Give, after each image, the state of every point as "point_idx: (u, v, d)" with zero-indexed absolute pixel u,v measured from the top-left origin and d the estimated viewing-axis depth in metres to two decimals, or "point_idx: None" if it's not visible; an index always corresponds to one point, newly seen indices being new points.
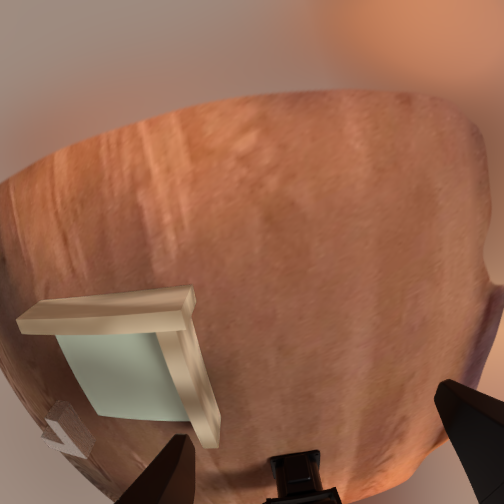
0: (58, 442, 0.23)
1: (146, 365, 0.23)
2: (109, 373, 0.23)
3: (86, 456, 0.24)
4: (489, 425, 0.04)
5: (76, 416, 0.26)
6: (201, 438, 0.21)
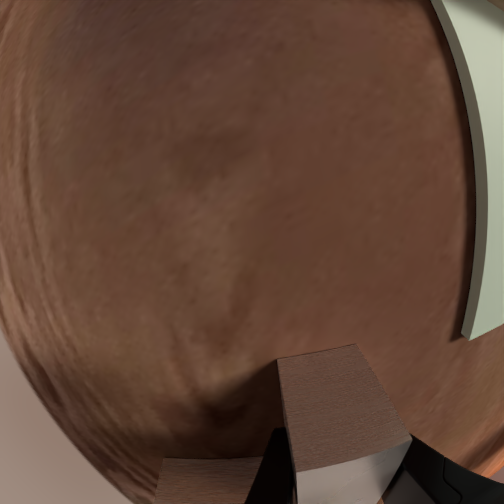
0: None
1: None
2: None
3: None
4: (402, 472, 0.04)
5: None
6: None
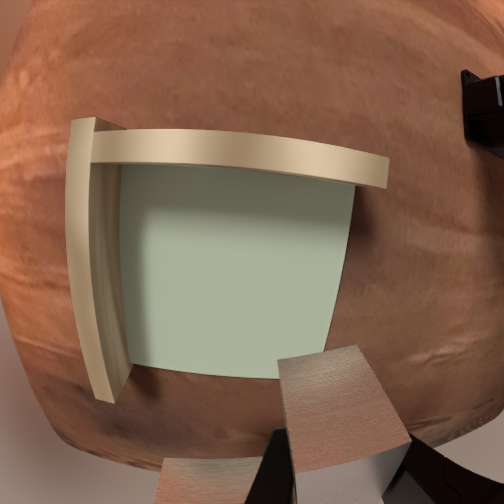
0: None
1: (211, 237, 0.16)
2: (224, 312, 0.17)
3: None
4: (402, 472, 0.04)
5: None
6: (354, 176, 0.12)
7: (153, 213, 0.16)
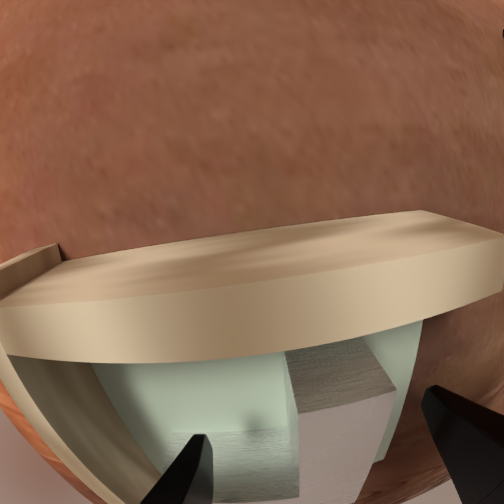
0: (259, 498, 0.07)
1: (226, 380, 0.10)
2: None
3: (355, 495, 0.08)
4: (475, 434, 0.04)
5: None
6: (463, 295, 0.05)
7: None
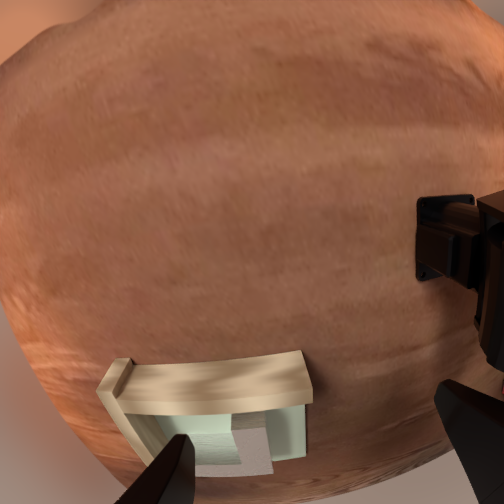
0: (225, 463, 0.19)
1: None
2: None
3: None
4: (489, 425, 0.04)
5: (265, 412, 0.21)
6: (286, 404, 0.17)
7: None
